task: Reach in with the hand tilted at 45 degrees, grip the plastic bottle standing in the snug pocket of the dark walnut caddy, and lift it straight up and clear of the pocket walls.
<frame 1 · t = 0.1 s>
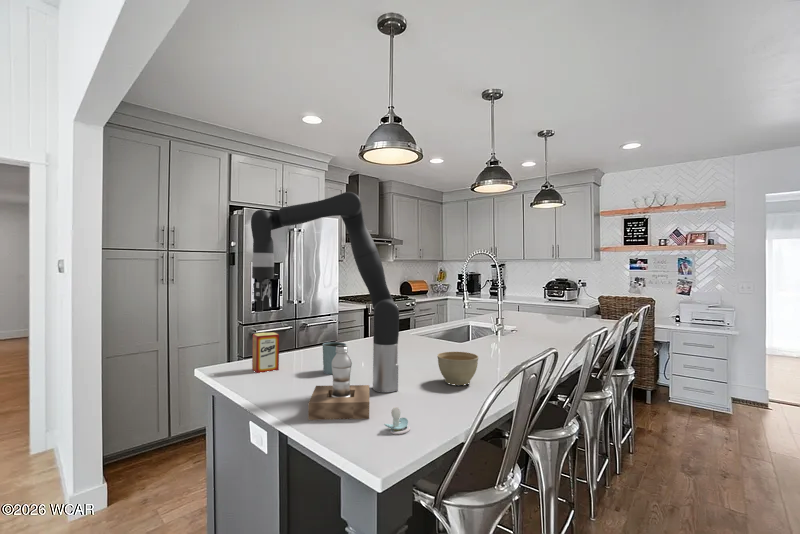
hand: (262, 310, 142), 29 cm above the counter, tool pointing down, fingers open, 8 cm apart
planter bowl: (457, 383, 155), on the counter
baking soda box: (265, 370, 171), on the counter
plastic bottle: (340, 409, 125), resting in walnut caddy
walnut caddy: (340, 409, 125), on the counter
drinking glass: (334, 372, 169), on the counter
pacifier: (398, 431, 109), on the counter
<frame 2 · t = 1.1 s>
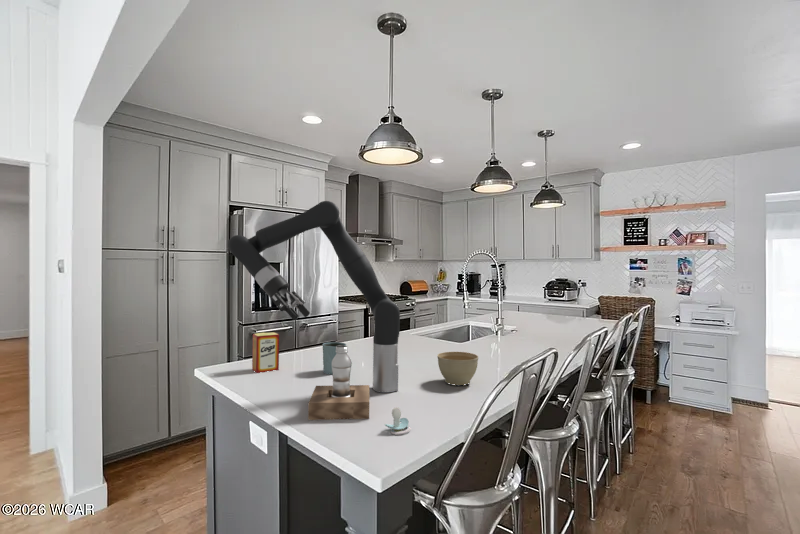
hand: (302, 316, 131), 28 cm above the counter, tool tilted 45°, fingers open, 8 cm apart
nothing on the counter moved.
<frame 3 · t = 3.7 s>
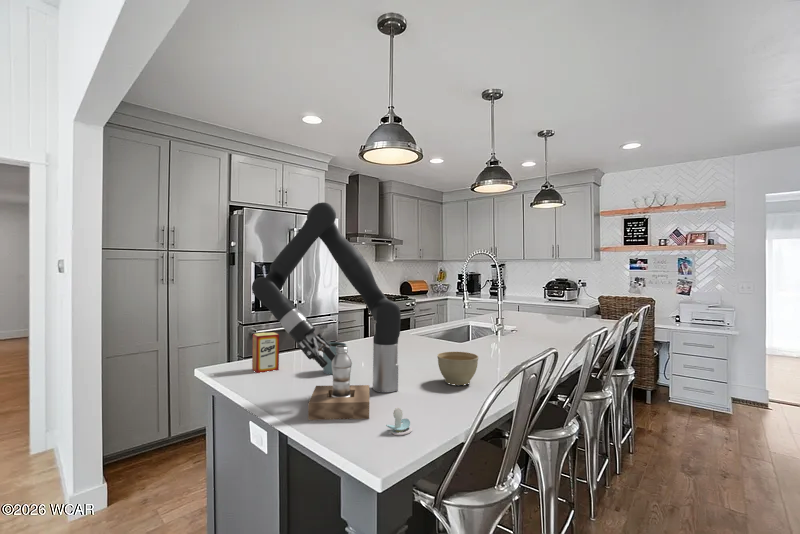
hand: (330, 362, 126), 15 cm above the counter, tool tilted 45°, fingers open, 8 cm apart
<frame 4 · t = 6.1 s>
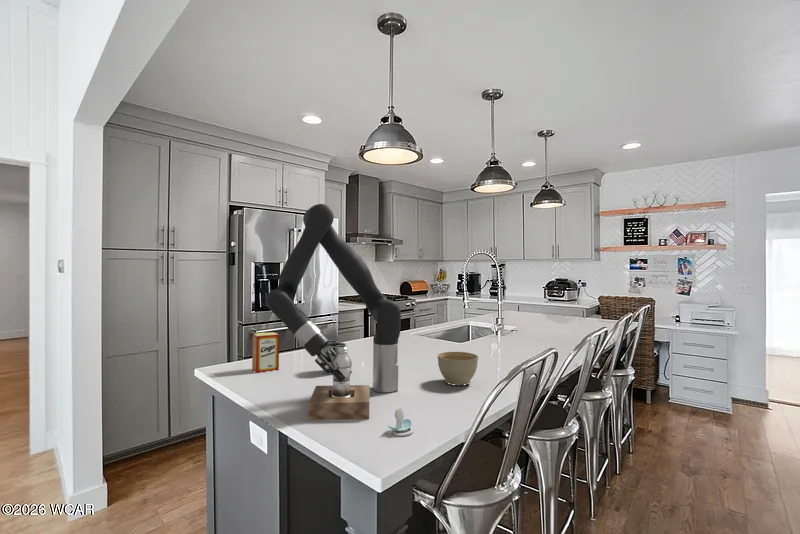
hand: (346, 377, 125), 10 cm above the counter, tool tilted 45°, fingers closed on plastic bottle, 6 cm apart
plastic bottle: (340, 409, 125), resting in walnut caddy, touching gripper
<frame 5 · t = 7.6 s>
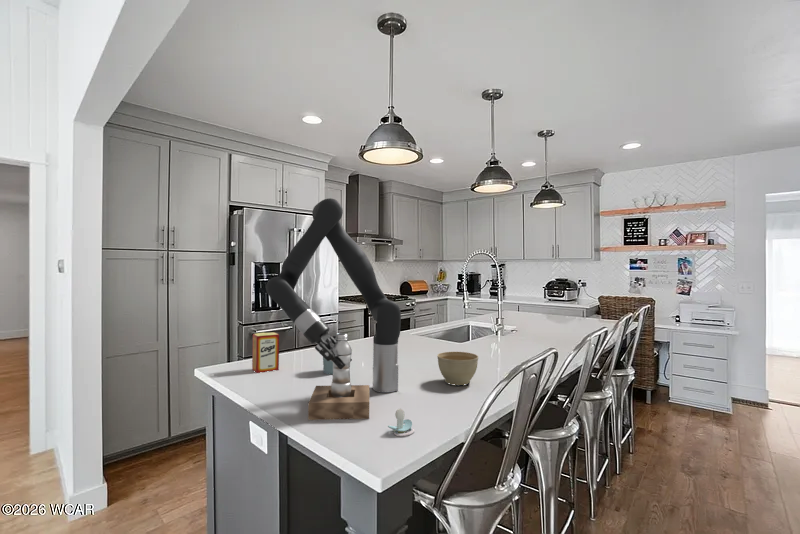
hand: (346, 364, 125), 14 cm above the counter, tool tilted 45°, fingers closed on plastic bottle, 6 cm apart
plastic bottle: (341, 397, 125), point 4 cm above the counter, touching gripper
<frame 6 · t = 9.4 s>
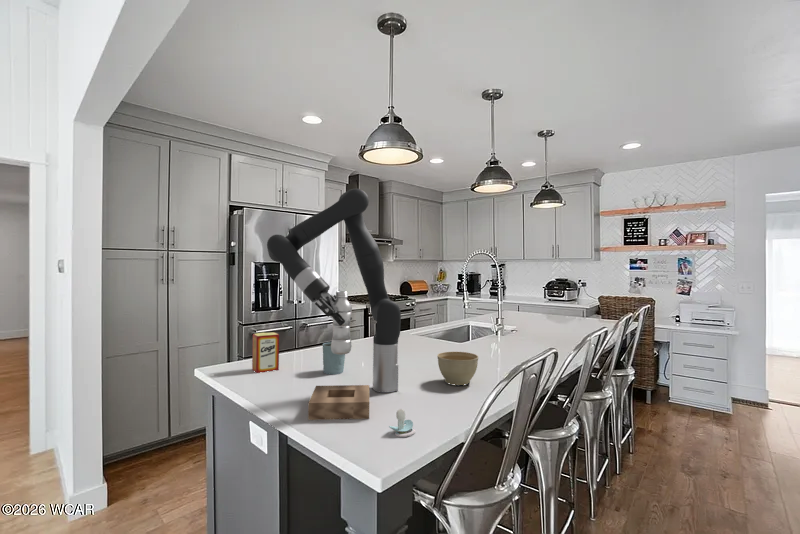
hand: (346, 322, 125), 28 cm above the counter, tool tilted 45°, fingers closed on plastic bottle, 6 cm apart
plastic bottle: (341, 354, 125), point 17 cm above the counter, touching gripper
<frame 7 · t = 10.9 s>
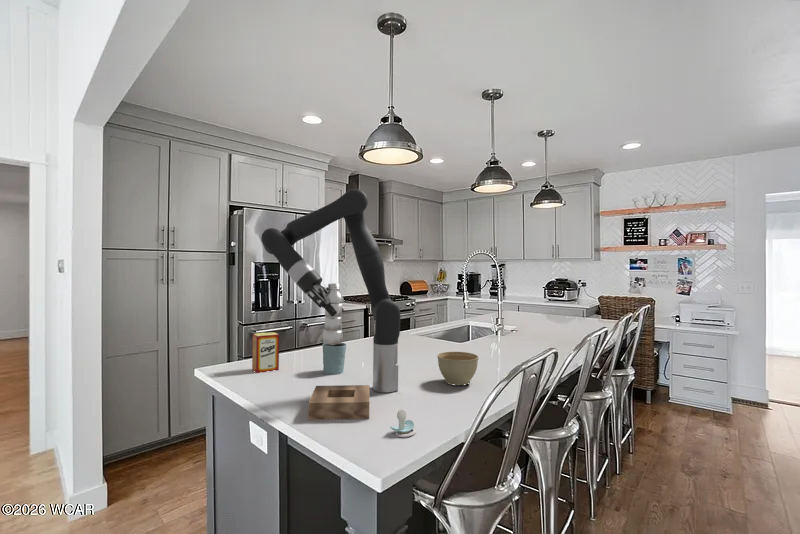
hand: (338, 313, 128), 30 cm above the counter, tool tilted 45°, fingers closed on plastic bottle, 6 cm apart
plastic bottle: (332, 345, 129), point 20 cm above the counter, touching gripper
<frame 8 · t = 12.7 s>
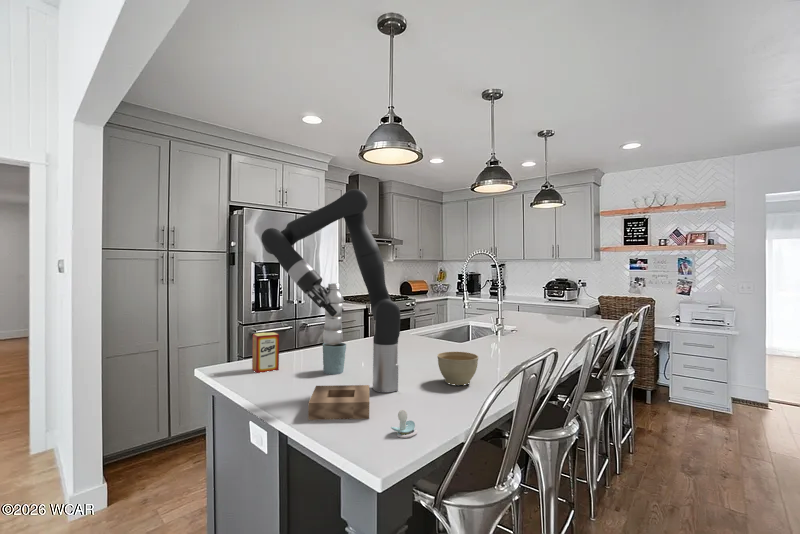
hand: (338, 313, 128), 30 cm above the counter, tool tilted 45°, fingers closed on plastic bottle, 6 cm apart
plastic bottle: (332, 345, 129), point 20 cm above the counter, touching gripper
at the end: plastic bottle point 19.6 cm above the counter; the gripper is holding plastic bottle; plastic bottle touching gripper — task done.
